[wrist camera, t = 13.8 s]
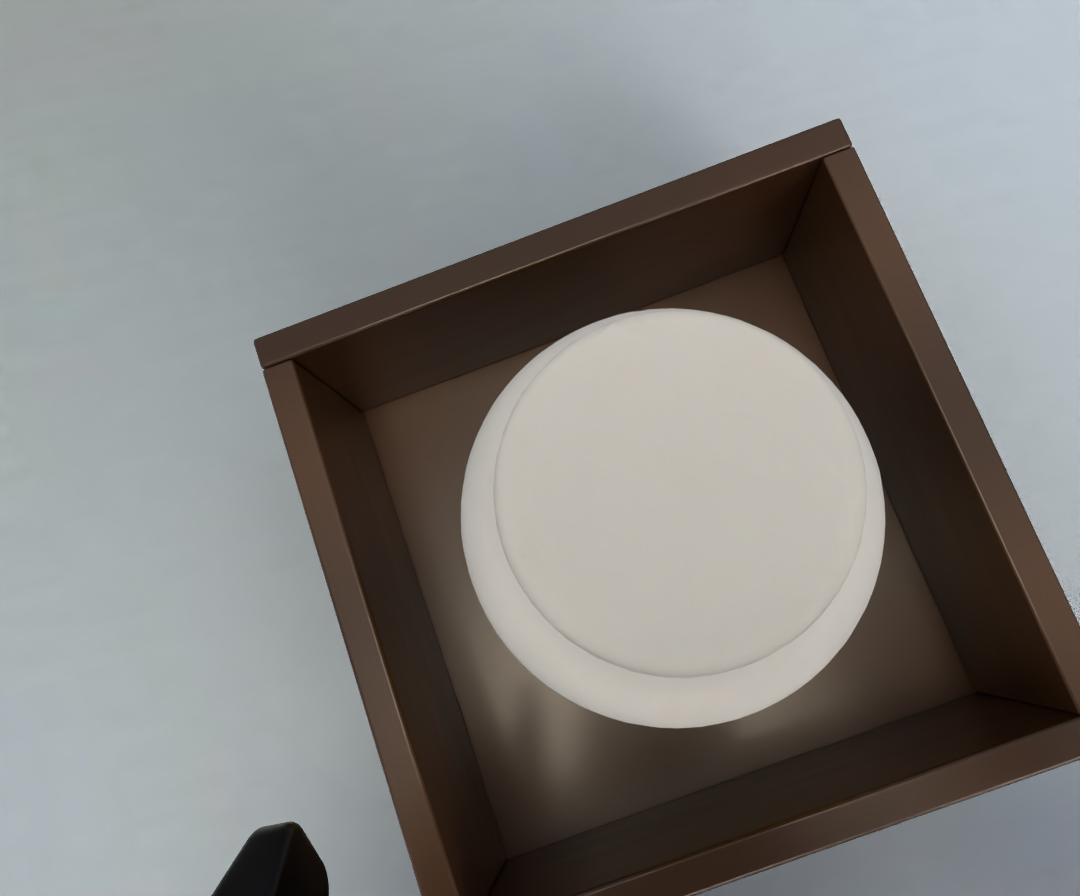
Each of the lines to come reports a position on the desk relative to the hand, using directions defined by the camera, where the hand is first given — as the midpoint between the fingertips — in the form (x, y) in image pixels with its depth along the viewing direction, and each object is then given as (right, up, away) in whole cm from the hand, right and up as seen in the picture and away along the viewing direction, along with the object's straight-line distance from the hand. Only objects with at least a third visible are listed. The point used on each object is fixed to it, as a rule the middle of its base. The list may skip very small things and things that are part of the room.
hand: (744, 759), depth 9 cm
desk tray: (0, +1, +11) cm, 12 cm away
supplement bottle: (0, +1, +11) cm, 11 cm away
